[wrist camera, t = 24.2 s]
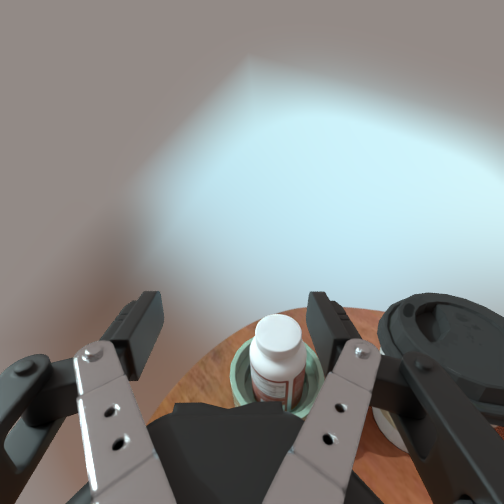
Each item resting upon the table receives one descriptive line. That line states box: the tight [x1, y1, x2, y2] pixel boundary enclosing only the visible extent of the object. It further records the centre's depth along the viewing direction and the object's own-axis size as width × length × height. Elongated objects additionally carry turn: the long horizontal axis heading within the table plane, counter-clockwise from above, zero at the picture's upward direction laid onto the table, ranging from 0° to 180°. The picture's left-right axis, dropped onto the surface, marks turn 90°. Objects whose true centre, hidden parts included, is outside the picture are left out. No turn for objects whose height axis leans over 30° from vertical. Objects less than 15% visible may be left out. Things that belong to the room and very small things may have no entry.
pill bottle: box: [249, 314, 307, 412], centre depth 27 cm, size 6×6×11 cm
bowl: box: [230, 337, 325, 421], centre depth 29 cm, size 11×11×4 cm
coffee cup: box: [372, 293, 504, 453], centre depth 23 cm, size 11×11×15 cm
